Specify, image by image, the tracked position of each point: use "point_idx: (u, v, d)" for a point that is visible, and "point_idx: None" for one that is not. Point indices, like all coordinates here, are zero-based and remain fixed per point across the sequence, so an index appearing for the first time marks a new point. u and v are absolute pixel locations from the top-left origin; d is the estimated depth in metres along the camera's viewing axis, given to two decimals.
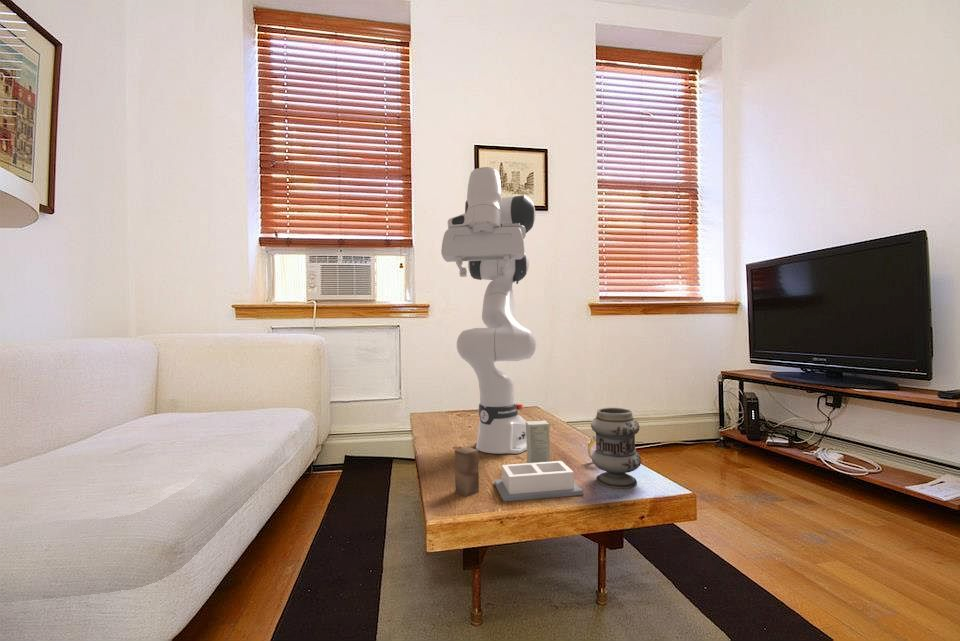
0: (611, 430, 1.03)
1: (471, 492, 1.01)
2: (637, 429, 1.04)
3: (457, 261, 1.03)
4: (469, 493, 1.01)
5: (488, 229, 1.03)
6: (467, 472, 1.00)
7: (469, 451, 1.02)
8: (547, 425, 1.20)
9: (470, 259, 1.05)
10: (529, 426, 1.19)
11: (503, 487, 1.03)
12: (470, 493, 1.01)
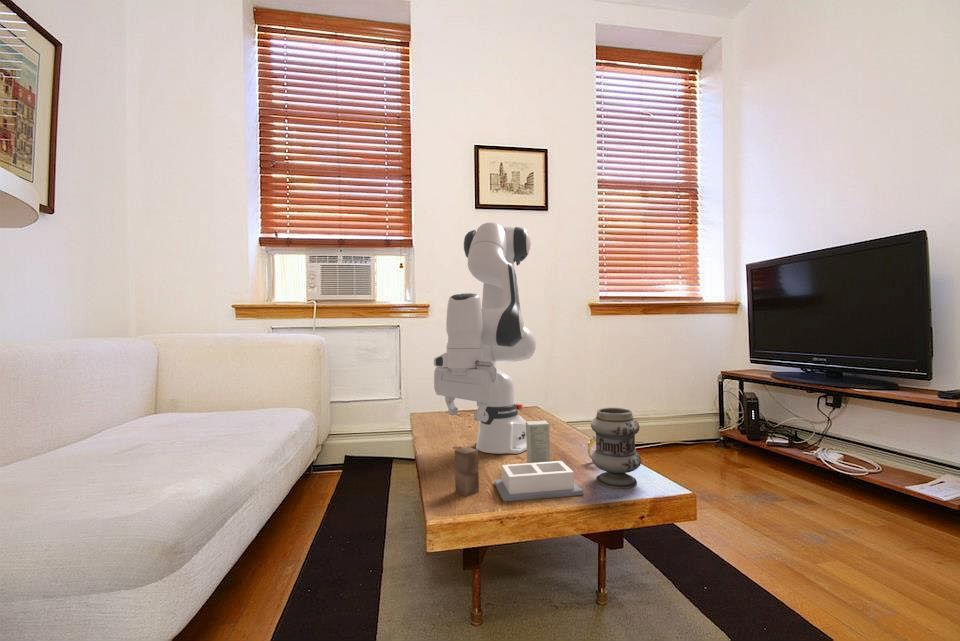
0: (611, 430, 1.03)
1: (471, 492, 1.01)
2: (637, 429, 1.04)
3: (446, 401, 1.07)
4: (469, 493, 1.01)
5: (460, 374, 1.00)
6: (467, 472, 1.00)
7: (469, 451, 1.02)
8: (547, 425, 1.19)
9: None
10: (529, 426, 1.19)
11: (503, 487, 1.03)
12: (470, 493, 1.01)
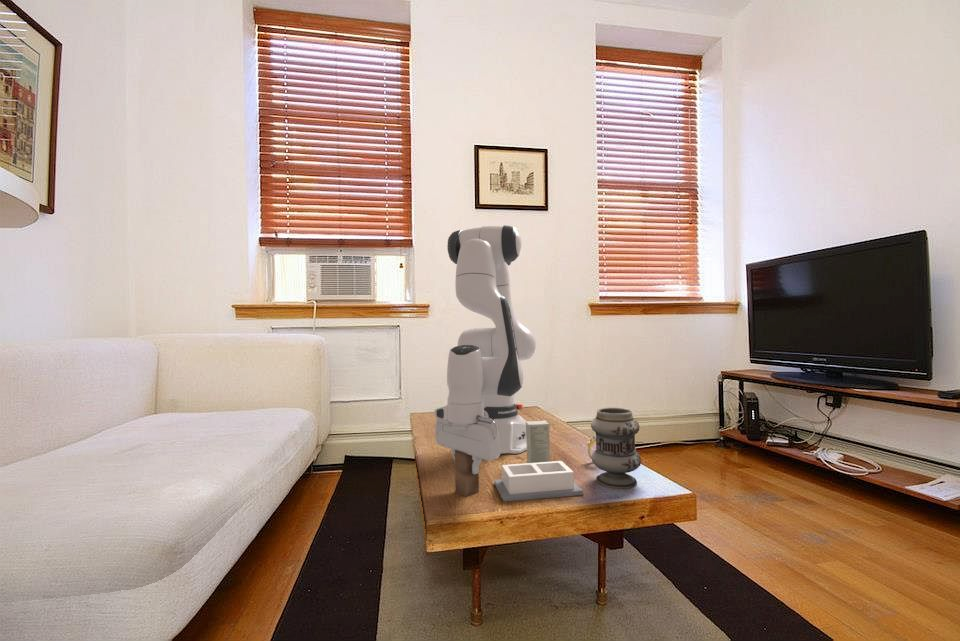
0: (611, 430, 1.03)
1: (471, 492, 1.01)
2: (637, 429, 1.04)
3: (452, 453, 1.05)
4: (469, 493, 1.01)
5: (461, 429, 1.00)
6: (467, 472, 1.00)
7: None
8: (547, 425, 1.20)
9: None
10: (529, 426, 1.19)
11: (503, 487, 1.03)
12: (470, 493, 1.01)
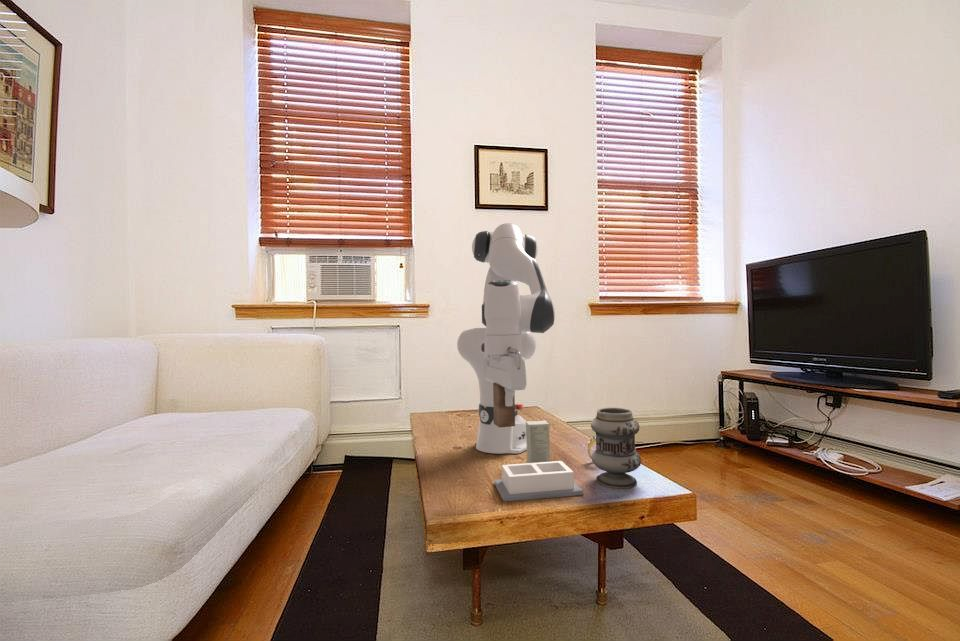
0: (611, 430, 1.03)
1: (505, 424, 1.01)
2: (637, 429, 1.04)
3: None
4: (503, 425, 1.01)
5: (494, 360, 1.01)
6: (500, 404, 1.01)
7: None
8: (547, 425, 1.20)
9: None
10: (529, 426, 1.19)
11: (503, 487, 1.03)
12: (504, 425, 1.01)
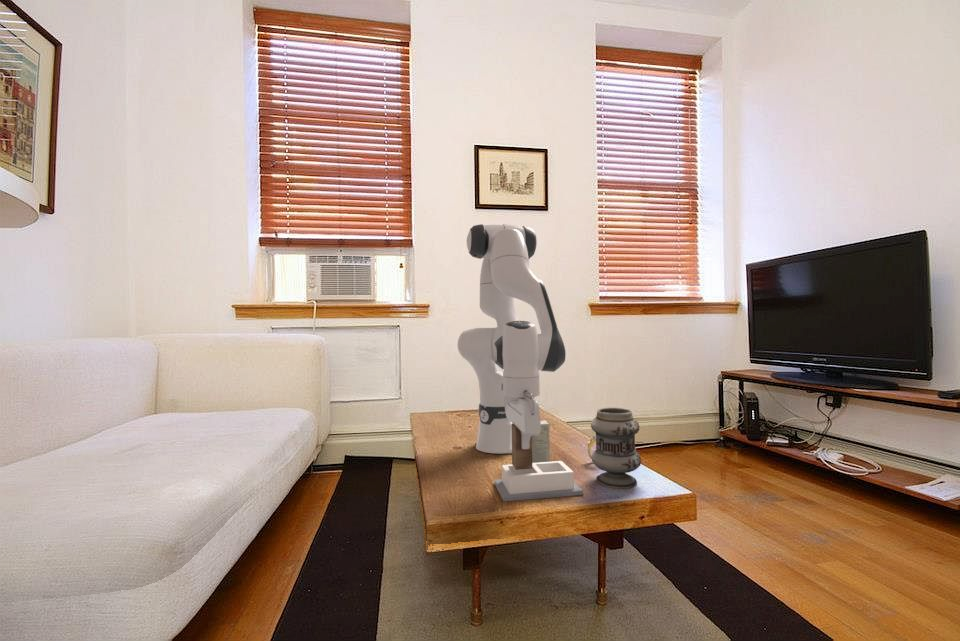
0: (611, 430, 1.03)
1: (522, 467, 1.01)
2: (637, 429, 1.04)
3: None
4: (520, 467, 1.01)
5: (511, 402, 1.01)
6: (517, 446, 1.01)
7: None
8: (547, 425, 1.20)
9: None
10: None
11: (503, 487, 1.03)
12: (521, 467, 1.01)
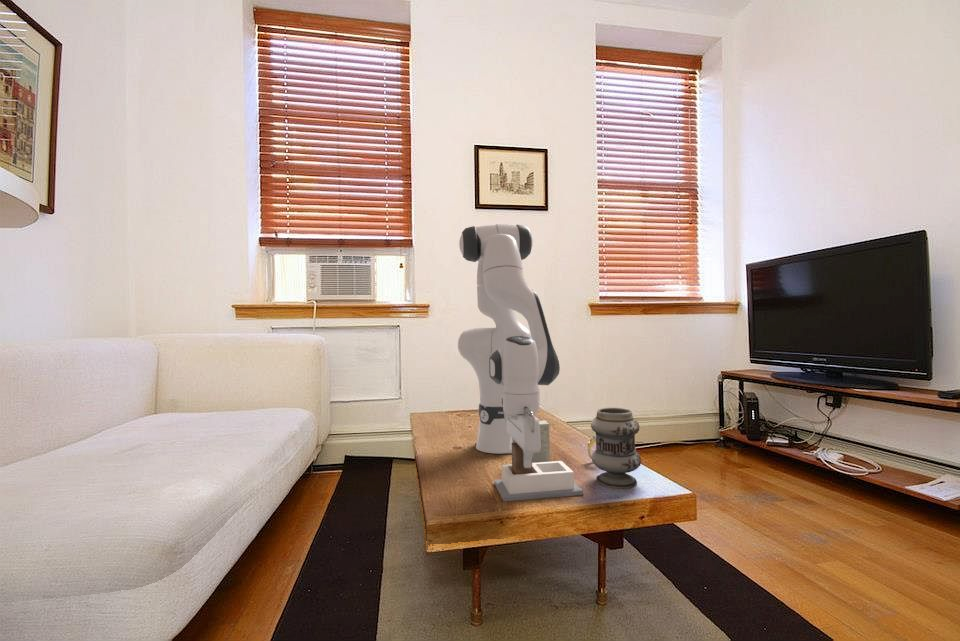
0: (611, 430, 1.03)
1: None
2: (637, 429, 1.04)
3: (512, 440, 1.09)
4: None
5: (511, 418, 1.01)
6: (517, 466, 1.01)
7: None
8: (547, 425, 1.20)
9: None
10: None
11: (503, 487, 1.03)
12: None
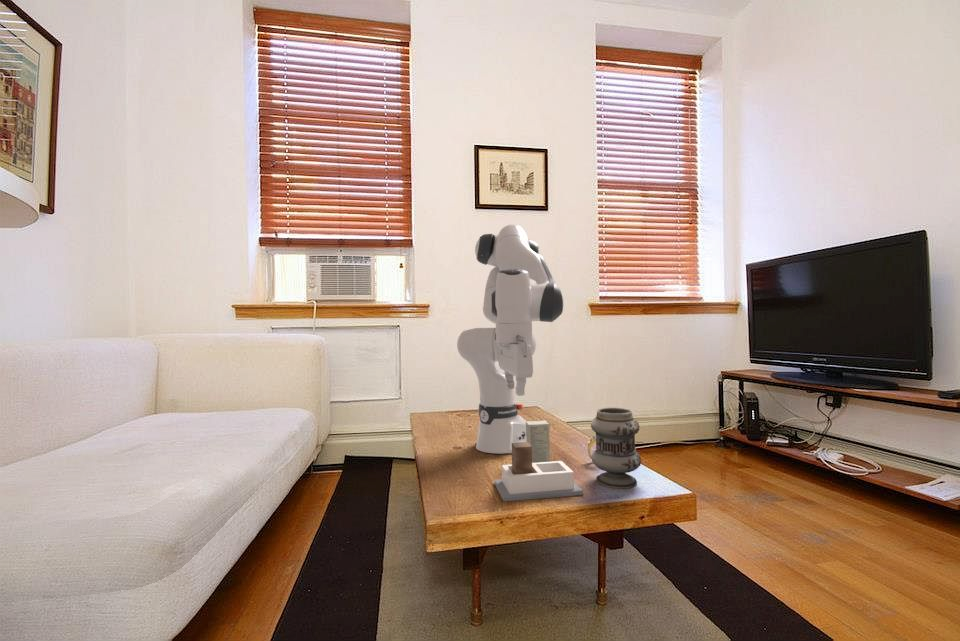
0: (611, 430, 1.03)
1: None
2: (637, 429, 1.04)
3: (505, 374, 1.10)
4: None
5: (504, 348, 1.02)
6: (517, 466, 1.01)
7: (522, 446, 1.02)
8: (547, 425, 1.20)
9: None
10: (529, 426, 1.19)
11: (503, 487, 1.03)
12: None
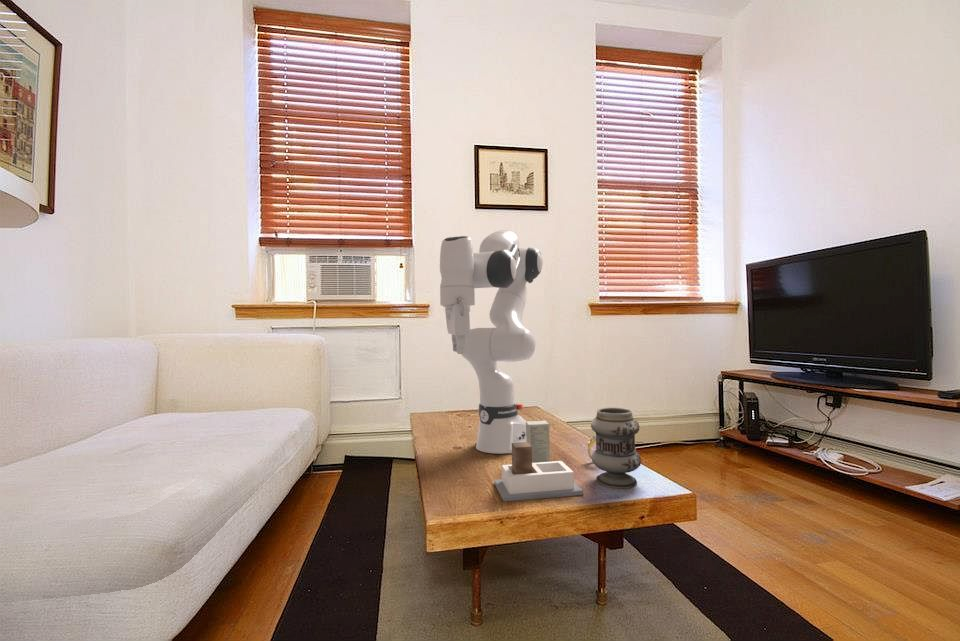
0: (611, 430, 1.03)
1: None
2: (637, 429, 1.04)
3: None
4: None
5: (447, 311, 1.08)
6: (517, 466, 1.01)
7: (522, 446, 1.02)
8: (547, 425, 1.20)
9: None
10: (529, 426, 1.19)
11: (503, 487, 1.03)
12: None
